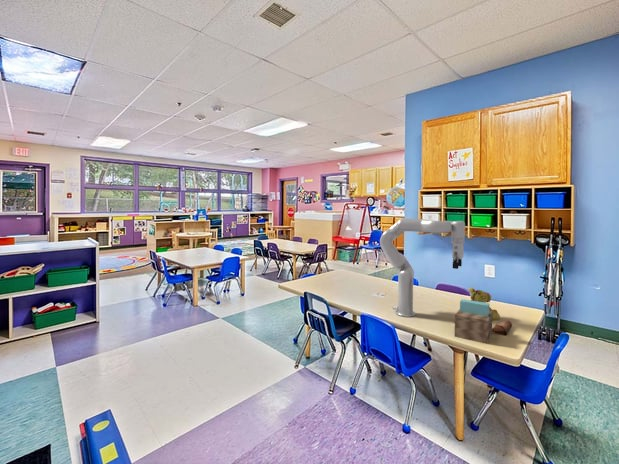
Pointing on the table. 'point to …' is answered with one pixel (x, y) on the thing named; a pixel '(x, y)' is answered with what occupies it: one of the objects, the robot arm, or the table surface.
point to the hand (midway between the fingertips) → (457, 267)
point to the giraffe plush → (483, 299)
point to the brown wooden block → (473, 326)
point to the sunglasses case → (502, 328)
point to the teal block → (474, 307)
